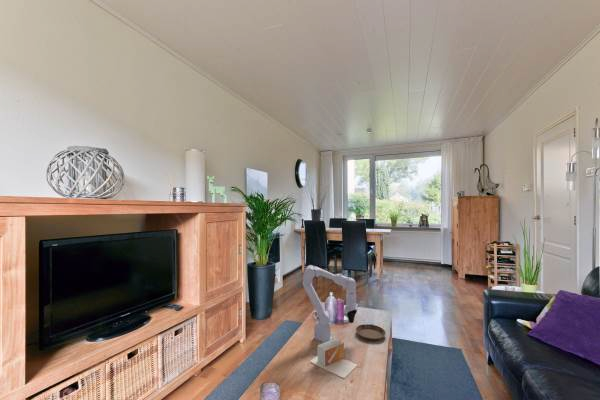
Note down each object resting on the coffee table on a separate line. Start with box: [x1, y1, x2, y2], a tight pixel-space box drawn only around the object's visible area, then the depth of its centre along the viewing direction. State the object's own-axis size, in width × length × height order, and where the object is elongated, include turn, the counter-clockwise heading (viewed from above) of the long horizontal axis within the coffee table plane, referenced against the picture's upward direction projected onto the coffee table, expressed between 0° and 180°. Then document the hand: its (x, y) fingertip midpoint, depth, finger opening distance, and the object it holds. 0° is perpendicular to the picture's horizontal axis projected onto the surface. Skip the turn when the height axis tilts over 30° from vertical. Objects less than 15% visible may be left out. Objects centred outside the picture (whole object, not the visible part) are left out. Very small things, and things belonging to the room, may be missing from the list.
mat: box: [309, 355, 358, 380], centre depth 134 cm, size 20×13×1 cm, turn 49°
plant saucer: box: [355, 323, 387, 342], centre depth 163 cm, size 18×18×3 cm
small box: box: [316, 338, 345, 367], centre depth 137 cm, size 8×6×13 cm
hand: (351, 322), depth 157 cm, fingers closed
